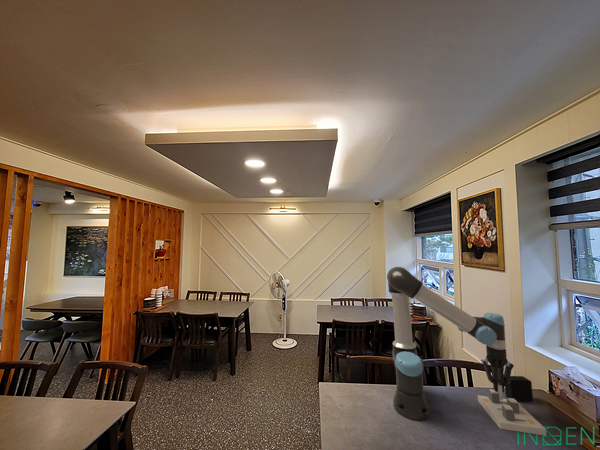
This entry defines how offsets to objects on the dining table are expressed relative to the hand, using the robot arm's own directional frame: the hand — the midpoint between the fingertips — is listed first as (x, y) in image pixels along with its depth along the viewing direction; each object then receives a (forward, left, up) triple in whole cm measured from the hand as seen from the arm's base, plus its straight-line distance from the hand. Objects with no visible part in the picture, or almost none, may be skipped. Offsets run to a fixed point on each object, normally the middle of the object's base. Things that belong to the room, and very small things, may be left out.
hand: (499, 398), depth 114 cm
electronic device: (+13, +10, -4) cm, 17 cm away
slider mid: (+2, -6, -1) cm, 7 cm away
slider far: (-2, 0, -1) cm, 3 cm away
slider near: (-3, -12, -1) cm, 12 cm away
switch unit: (0, -6, -4) cm, 7 cm away
